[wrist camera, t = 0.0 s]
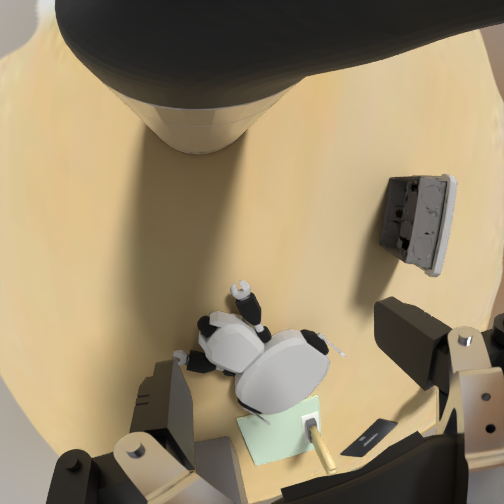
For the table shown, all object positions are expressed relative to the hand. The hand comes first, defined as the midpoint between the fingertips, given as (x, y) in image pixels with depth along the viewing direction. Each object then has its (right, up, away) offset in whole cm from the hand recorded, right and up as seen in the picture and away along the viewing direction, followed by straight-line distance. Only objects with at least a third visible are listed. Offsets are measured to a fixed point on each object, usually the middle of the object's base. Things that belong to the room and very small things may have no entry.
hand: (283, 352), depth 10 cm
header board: (+3, -22, +25) cm, 33 cm away
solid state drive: (+20, -30, +30) cm, 47 cm away
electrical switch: (+14, +8, +19) cm, 25 cm away
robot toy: (-1, -7, +20) cm, 21 cm away
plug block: (-6, -25, +24) cm, 35 cm away
